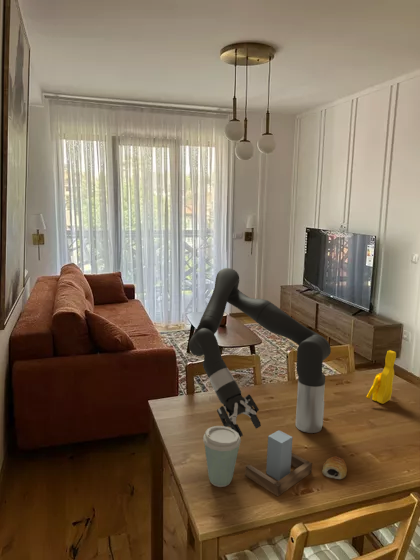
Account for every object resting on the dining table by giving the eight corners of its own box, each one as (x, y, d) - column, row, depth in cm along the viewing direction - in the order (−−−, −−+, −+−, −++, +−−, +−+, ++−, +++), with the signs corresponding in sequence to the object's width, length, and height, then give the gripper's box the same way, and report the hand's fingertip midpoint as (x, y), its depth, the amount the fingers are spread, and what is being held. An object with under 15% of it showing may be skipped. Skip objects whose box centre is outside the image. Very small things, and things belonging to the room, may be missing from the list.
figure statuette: (382, 391, 183) (387, 342, 179) (400, 398, 177) (406, 347, 174) (361, 403, 172) (365, 351, 168) (379, 410, 166) (384, 357, 162)
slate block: (276, 466, 129) (278, 430, 127) (290, 474, 125) (292, 437, 123) (266, 473, 126) (268, 436, 124) (279, 481, 122) (281, 443, 120)
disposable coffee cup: (228, 465, 129) (229, 420, 126) (246, 487, 119) (248, 438, 117) (196, 474, 124) (197, 427, 122) (212, 497, 115) (213, 446, 112)
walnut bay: (279, 454, 135) (279, 446, 135) (311, 472, 126) (312, 463, 126) (245, 475, 124) (245, 466, 124) (277, 496, 116) (278, 486, 115)
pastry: (327, 459, 134) (328, 448, 133) (349, 465, 131) (350, 454, 130) (320, 476, 125) (321, 464, 125) (344, 483, 122) (345, 471, 122)
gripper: (233, 384, 146) (257, 428, 139) (203, 396, 136) (227, 444, 130) (245, 374, 141) (271, 420, 135) (215, 386, 131) (240, 435, 125)
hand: (249, 432), depth 132 cm, fingers open, 8 cm apart
